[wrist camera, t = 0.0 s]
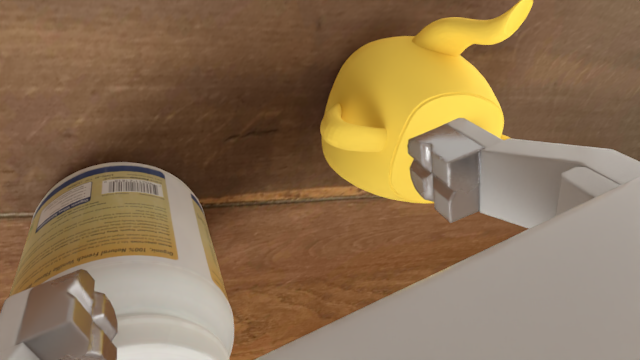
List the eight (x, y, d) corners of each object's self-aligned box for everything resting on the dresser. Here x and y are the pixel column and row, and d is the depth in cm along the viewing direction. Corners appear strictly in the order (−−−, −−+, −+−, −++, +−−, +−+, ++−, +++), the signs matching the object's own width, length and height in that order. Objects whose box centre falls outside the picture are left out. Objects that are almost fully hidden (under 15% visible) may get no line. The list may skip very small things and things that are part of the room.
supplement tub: (-5, 242, 31) (-108, 491, 17) (106, 122, 30) (88, 288, 16) (140, 303, 38) (148, 512, 24) (233, 209, 37) (296, 373, 23)
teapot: (469, 106, 41) (572, 161, 32) (352, 196, 41) (420, 277, 32) (420, -26, 33) (539, -6, 23) (273, 87, 33) (333, 152, 23)
